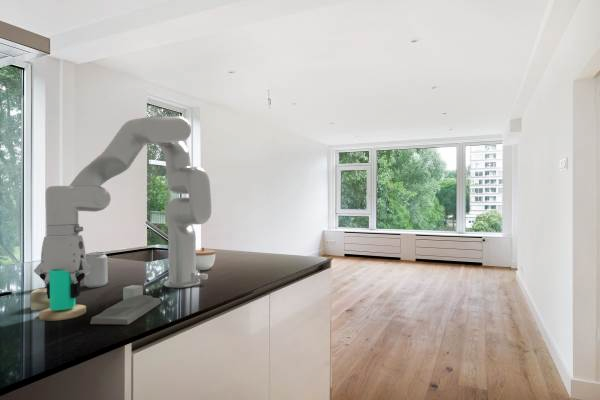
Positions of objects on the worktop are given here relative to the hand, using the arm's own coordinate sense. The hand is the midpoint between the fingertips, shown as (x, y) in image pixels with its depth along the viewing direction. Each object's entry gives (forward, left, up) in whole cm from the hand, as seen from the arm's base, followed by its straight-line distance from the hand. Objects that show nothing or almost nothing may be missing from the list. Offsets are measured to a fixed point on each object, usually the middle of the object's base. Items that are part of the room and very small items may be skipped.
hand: (63, 296), depth 106 cm
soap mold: (-17, -1, -6) cm, 18 cm away
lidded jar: (-24, -66, -5) cm, 70 cm away
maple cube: (+10, -8, -5) cm, 14 cm away
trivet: (0, 0, -5) cm, 5 cm away
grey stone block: (-13, -15, -5) cm, 20 cm away
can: (+8, -35, -5) cm, 36 cm away
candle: (0, 0, -3) cm, 3 cm away
